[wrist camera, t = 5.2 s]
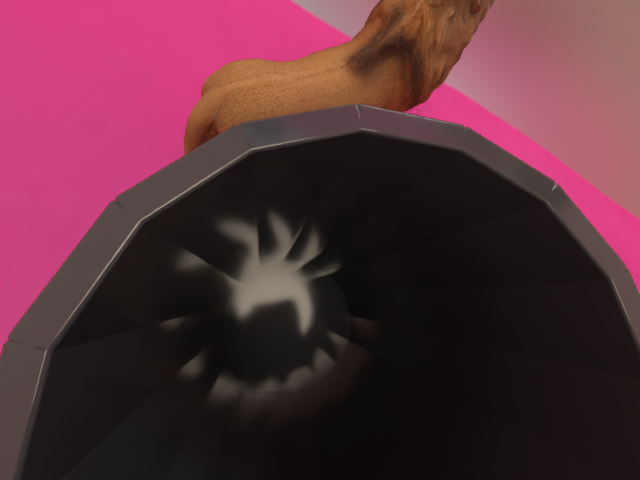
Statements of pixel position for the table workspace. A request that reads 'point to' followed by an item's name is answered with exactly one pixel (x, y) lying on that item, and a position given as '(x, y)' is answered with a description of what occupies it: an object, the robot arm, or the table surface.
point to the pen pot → (331, 319)
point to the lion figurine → (345, 69)
